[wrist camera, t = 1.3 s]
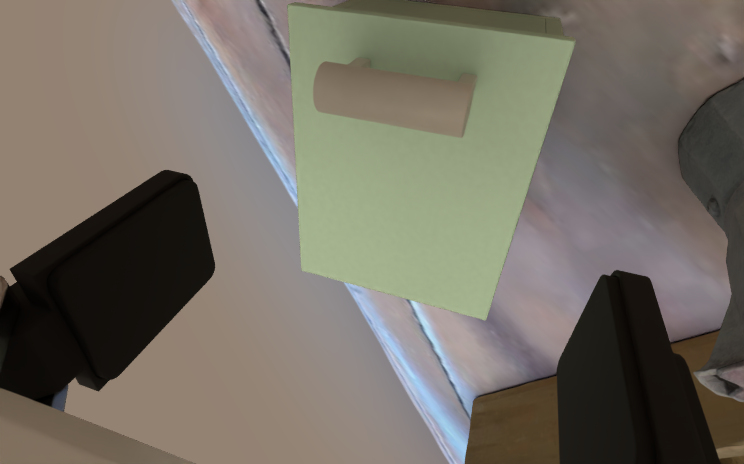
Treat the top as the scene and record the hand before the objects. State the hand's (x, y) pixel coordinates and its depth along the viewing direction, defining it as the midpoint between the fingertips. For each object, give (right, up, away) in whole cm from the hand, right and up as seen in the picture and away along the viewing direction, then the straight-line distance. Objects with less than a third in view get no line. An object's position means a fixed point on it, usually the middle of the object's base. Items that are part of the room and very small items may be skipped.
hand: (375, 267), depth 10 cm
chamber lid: (+2, +4, +14) cm, 15 cm away
